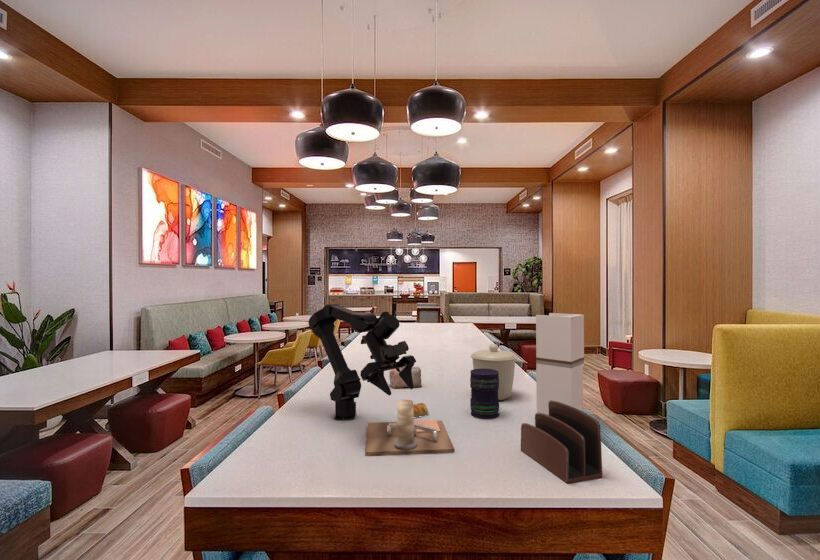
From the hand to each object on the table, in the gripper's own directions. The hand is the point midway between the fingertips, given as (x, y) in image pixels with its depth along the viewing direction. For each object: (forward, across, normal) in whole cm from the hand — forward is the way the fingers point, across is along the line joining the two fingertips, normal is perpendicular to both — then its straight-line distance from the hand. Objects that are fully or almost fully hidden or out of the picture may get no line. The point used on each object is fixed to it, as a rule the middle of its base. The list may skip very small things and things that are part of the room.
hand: (401, 391), depth 124 cm
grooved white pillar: (+29, +45, -12) cm, 55 cm away
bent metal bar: (+13, -1, +5) cm, 13 cm away
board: (+11, +1, +8) cm, 14 cm away
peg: (+14, -5, +3) cm, 15 cm away
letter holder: (+37, +15, -22) cm, 46 cm away
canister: (+8, +55, +12) cm, 57 cm away
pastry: (+3, +18, +18) cm, 25 cm away
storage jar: (+14, +34, +4) cm, 38 cm away
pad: (+10, +9, +8) cm, 15 cm away
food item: (-16, +43, +40) cm, 61 cm away
